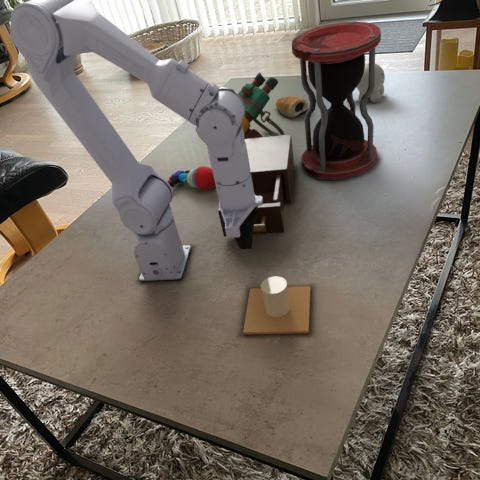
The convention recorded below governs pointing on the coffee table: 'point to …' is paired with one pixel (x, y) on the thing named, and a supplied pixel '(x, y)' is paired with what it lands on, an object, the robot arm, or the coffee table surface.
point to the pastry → (291, 106)
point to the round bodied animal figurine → (377, 85)
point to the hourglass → (337, 97)
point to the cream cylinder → (275, 296)
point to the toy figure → (194, 178)
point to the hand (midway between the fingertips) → (246, 246)
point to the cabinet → (273, 159)
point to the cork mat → (287, 324)
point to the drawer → (267, 204)
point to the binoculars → (257, 106)
